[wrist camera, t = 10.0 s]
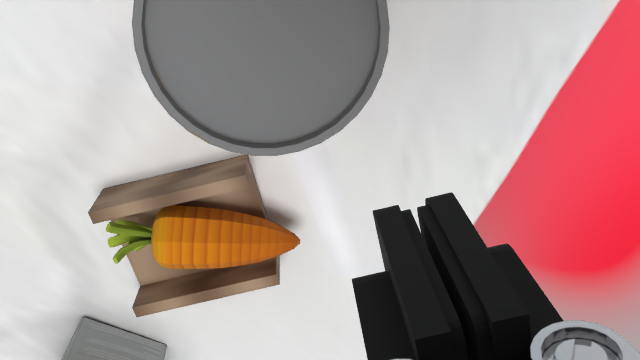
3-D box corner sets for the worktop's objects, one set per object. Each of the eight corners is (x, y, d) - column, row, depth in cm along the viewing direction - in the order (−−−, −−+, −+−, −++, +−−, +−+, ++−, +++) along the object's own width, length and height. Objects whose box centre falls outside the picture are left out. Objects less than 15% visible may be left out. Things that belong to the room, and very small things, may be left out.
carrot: (304, 213, 42) (97, 205, 41) (300, 279, 43) (94, 273, 41) (299, 207, 47) (114, 200, 46) (296, 266, 48) (111, 260, 46)
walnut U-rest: (247, 154, 45) (244, 175, 41) (279, 257, 49) (279, 284, 46) (103, 189, 45) (88, 212, 42) (147, 288, 50) (136, 317, 46)
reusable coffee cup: (149, -70, 38) (77, -63, 24) (330, -126, 37) (360, -152, 24) (214, 103, 43) (185, 188, 30) (373, 57, 42) (418, 123, 29)
